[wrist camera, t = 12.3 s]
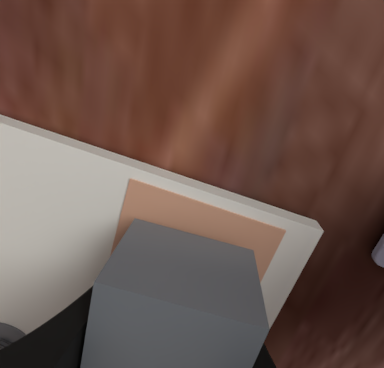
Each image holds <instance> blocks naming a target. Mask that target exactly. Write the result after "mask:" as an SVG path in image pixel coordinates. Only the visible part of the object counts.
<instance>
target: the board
mask: <svg viewBox="0 0 384 368" xmlns="http://www.w3.org/2000/svg"><path fill="white" fill-rule="evenodd" d="M135 218H136V219H140V220H144V221H147V222H151V223H155V224H158V225H162V226H166V227H170V228H173V229H177V230H181V231H184V232H188V233H192V234H195V235H199V236H203V237H207V238H210V239H214V240H218V241H221V242H225V243H229V244H232V245H236V246H240V247H244V248H247V249H251V250H254V255H255V260H256V265H257V270H258V274H259V279H260V284H261V289H262V294H263V299H264V304H265V309H266V314H267V319H268V324H269V329H270V328H271V326H272V324H273V323H274V321H275V319H276V317H277V315H278V313H279V312H280V310H281V308H282V306H283V304H284V303H285V301H286V299H287V297H288V295H289V294H290V292H291V290H292V288H293V286H294V284H295V283H296V281H297V279H298V277H299V275H300V274H301V272H302V270H303V268H304V266H305V265H306V263H307V261H308V259H309V257H310V255H311V254H312V252H313V250H314V248H315V246H316V245H317V243H318V241H319V239H320V237H321V235H322V234H323V232H324V231H323V229H322V228H321V226H320V225H319V224H318V222H317V221H316V220H313V219H310V218H307V217H304V216H301V215H298V214H295V213H292V212H289V211H286V210H283V209H280V208H277V207H274V206H271V205H268V204H265V203H262V202H259V201H256V200H253V199H250V198H247V197H244V196H241V195H238V194H236V193H233V192H230V191H227V190H224V189H221V188H218V187H215V186H212V185H209V184H206V183H203V182H200V181H197V180H194V179H191V178H188V177H185V176H182V175H179V174H176V173H173V172H170V171H167V170H164V169H161V168H158V167H155V166H152V165H149V164H146V163H143V162H140V161H137V160H134V159H131V158H128V157H125V156H122V155H119V154H116V153H113V152H110V151H107V150H104V149H101V148H98V147H95V146H92V145H90V144H87V143H84V142H81V141H78V140H75V139H72V138H69V137H66V136H63V135H60V134H57V133H54V132H51V131H48V130H45V129H42V128H39V127H36V126H33V125H30V124H27V123H24V122H21V121H18V120H15V119H12V118H9V117H6V116H3V115H0V339H4V340H6V341H8V342H10V343H13V342H15V341H17V340H18V339H20V338H22V337H23V336H25V335H27V334H28V333H30V332H32V331H33V330H35V329H36V328H38V327H39V326H41V325H42V324H44V323H45V322H47V321H48V320H50V319H51V318H52V317H54V316H55V315H57V314H58V313H59V312H61V311H62V310H64V309H65V308H66V307H67V306H69V305H70V304H71V303H73V302H74V301H75V300H76V299H78V298H79V297H80V296H81V295H82V294H84V293H85V292H86V291H87V290H88V289H89V288H91V287H92V286H93V284H94V281H95V279H96V278H97V276H98V275H99V273H100V271H101V270H102V268H103V267H104V265H105V264H106V262H107V261H108V259H109V258H110V256H111V254H112V253H113V251H114V250H115V248H116V247H117V245H118V244H119V242H120V240H121V239H122V237H123V236H124V234H125V233H126V231H127V230H128V228H129V226H130V225H131V223H132V222H133V220H134V219H135Z"/></svg>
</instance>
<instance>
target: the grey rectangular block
mask: <svg viewBox="0 0 384 368" xmlns="http://www.w3.org/2000/svg"><path fill="white" fill-rule="evenodd" d="M269 330H270V329H269V324H268V319H267V314H266V309H265V304H264V299H263V294H262V289H261V284H260V279H259V274H258V270H257V265H256V260H255V255H254V250H251V249H247V248H244V247H240V246H236V245H232V244H229V243H225V242H221V241H218V240H214V239H210V238H207V237H203V236H199V235H195V234H192V233H188V232H184V231H181V230H177V229H173V228H170V227H166V226H162V225H158V224H155V223H151V222H147V221H144V220H140V219H136V218H135V219H134V220H133V222H132V223H131V225H130V226H129V228H128V230H127V231H126V233H125V234H124V236H123V237H122V239H121V240H120V242H119V244H118V245H117V247H116V248H115V250H114V251H113V253H112V254H111V256H110V258H109V259H108V261H107V262H106V264H105V265H104V267H103V268H102V270H101V271H100V273H99V275H98V276H97V278H96V279H95V281H94V284H93V291H92V297H91V303H90V309H89V316H88V322H87V328H86V334H85V341H84V347H83V353H82V360H81V366H80V368H252V367H253V365H254V363H255V361H256V358H257V356H258V354H259V352H260V350H261V347H262V345H263V343H264V341H265V339H266V336H267V334H268V332H269Z"/></svg>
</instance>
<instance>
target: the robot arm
mask: <svg viewBox="0 0 384 368" xmlns="http://www.w3.org/2000/svg"><path fill="white" fill-rule="evenodd" d="M371 255H372V259H373V260H374V262H375V263H376V264H377V265H379V266H381V267H384V234H383V236H382V237H381V239H380V240H379V242H378V243H377V245H376V246H375V248H374V250H373V252H372V254H371ZM92 291H93V286H92V287H91V288H89V289H88V290H87V291H86V292H85V293H84V294H82V295H81V296H80V297H79V298H78V299H76V300H75V301H74V302H73V303H71V304H70V305H69V306H67V307H66V308H65V309H64V310H62V311H61V312H59V313H58V314H57V315H55V316H54V317H52V318H51V319H50V320H48V321H47V322H45V323H44V324H42V325H41V326H39V327H38V328H36V329H35V330H33V331H32V332H30V333H28V334H27V335H25V336H23V337H22V338H20V339H18V340H17V341H15V342H13V343H11V344H10V345H8V346H6V347H4V348H2V349H1V350H0V368H80V366H81V360H82V353H83V347H84V341H85V334H86V328H87V322H88V316H89V309H90V303H91V297H92ZM252 368H276V366H275V364H274V362H273V360H272V358H271V356H270V355H269V353H268V351H267V349H266V347H265V344H264V343H263V345H262V347H261V350H260V352H259V354H258V356H257V358H256V361H255V363H254V365H253V367H252Z"/></svg>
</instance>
